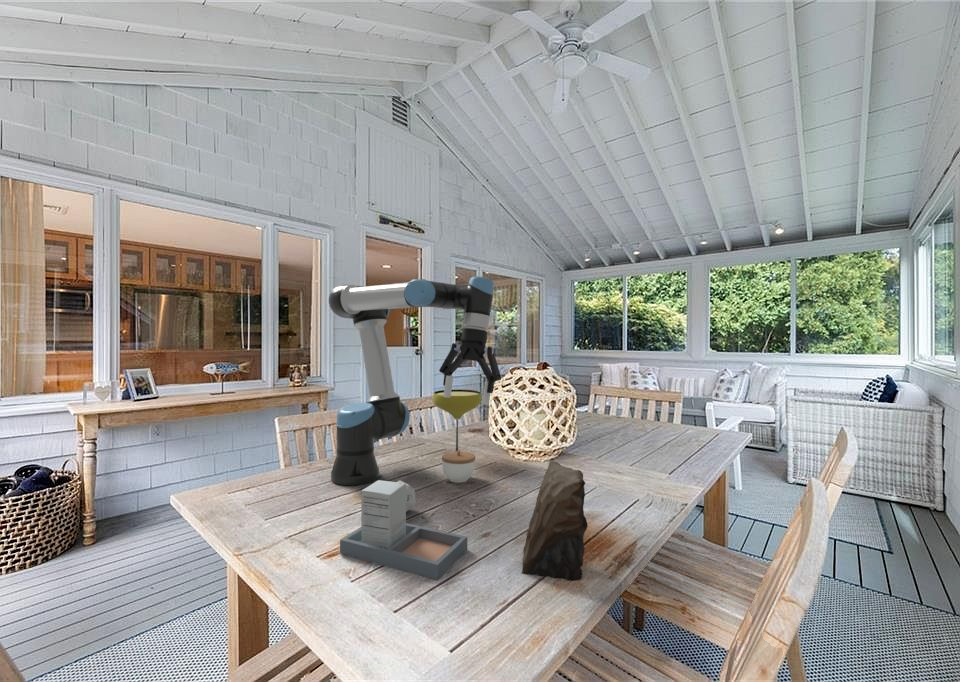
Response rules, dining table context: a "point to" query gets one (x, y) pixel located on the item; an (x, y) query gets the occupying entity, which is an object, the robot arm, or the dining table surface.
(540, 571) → the brown rock
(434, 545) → the sorting tray
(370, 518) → the supplement box
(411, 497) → the die
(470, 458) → the lidded jar
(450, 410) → the cocktail glass
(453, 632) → the dining table surface
